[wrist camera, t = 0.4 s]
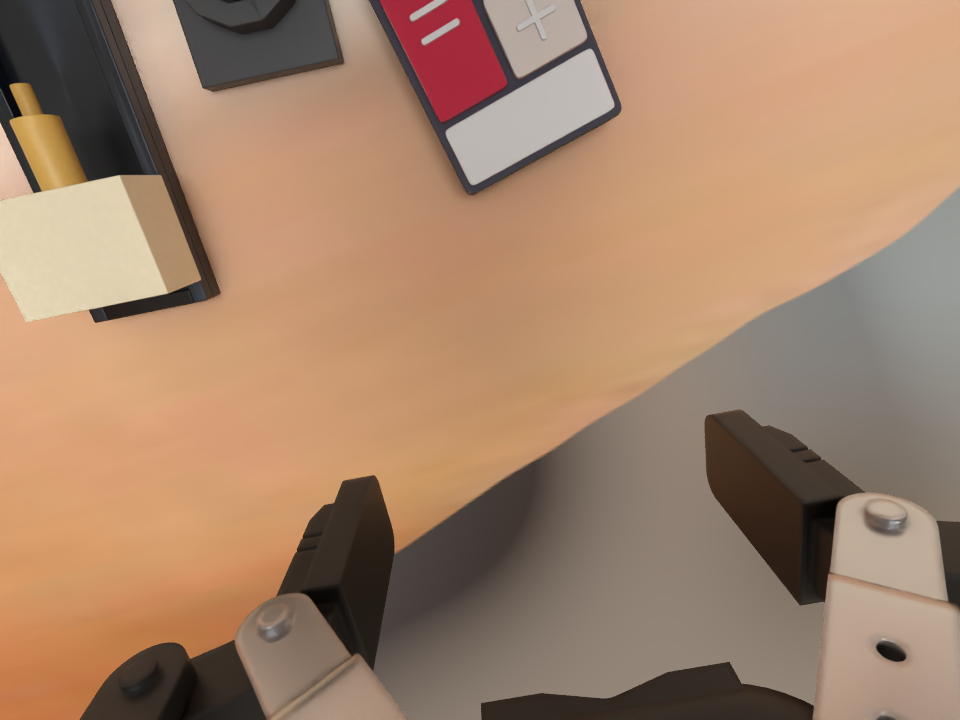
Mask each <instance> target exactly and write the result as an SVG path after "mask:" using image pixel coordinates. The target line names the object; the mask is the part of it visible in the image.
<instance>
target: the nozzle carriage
mask: <svg viewBox="0 0 960 720" xmlns="http://www.w3.org/2000/svg"><path fill="white" fill-rule="evenodd" d="M10 89H11V91H12V93H13V96H14V98H15V100H16V102H17V104H18V107H19V109H20V111H21V113H22V115H23V116H21V117H17V118H14V119H11V120H10V124H11V126H12V128H13V130H14V132H15V135H16V137H17V139H18V141H19V143H20V145H21V147H22V150H23V152H24V154H25V156H26V158H27V160H28V162H29V165H30V167H31V169H32V171H33V173H34V175H35V177H36V180H37V182H38V184H39V186H40V188H41V190H42V192H37V193H32V194H28V195H23V196H18V197H13V198H9V199H4V200H0V273H1V274H2V276H3V278H4V280H5V282H6V284H7V286H8V288H9V290H10V292H11V294H12V296H13V297H14V299H15V301H16V303H17V305H18V307H19V309H20V311H21V313H22V315H23V317H24V319H25V321H26V322H31V321H36V320H41V319H46V318H51V317H56V316H61V315H65V314H70V313H75V312H80V311H85V310H90V309H95V308H100V307H105V306H110V305H115V304H120V303H124V302H129V301H134V300H139V299H144V298H149V297H154V296H159V295H164V294H168V293H171V292H173V291H175V290H178V289H180V288H183V287H185V286H188V285H190V284H193V283H195V282H198V281H200V280H201V277H200V274H199V272H198V269H197V267H196V264H195V261H194V259H193V256H192V254H191V251H190V249H189V246H188V243H187V241H186V238H185V236H184V233H183V230H182V228H181V225H180V223H179V220H178V217H177V215H176V212H175V210H174V207H173V204H172V202H171V199H170V197H169V194H168V192H167V189H166V186H165V184H164V181H163V179H162V176H161V175H117V176H112V177H108V178H103V179H98V180H94V181H89V182H88V180H87V178H86V175H85V173H84V171H83V168H82V166H81V164H80V162H79V159H78V157H77V155H76V152H75V150H74V148H73V145H72V143H71V141H70V138H69V136H68V134H67V132H66V129H65V127H64V125H63V122H62V120H61V118H60V117H59V116H57V115H50V114H44V113H43V111H42V109H41V106H40V104H39V102H38V100H37V97H36V95H35V93H34V90H33V88H32V86H31V85H30V84H28V83H14V84H11V85H10Z"/></svg>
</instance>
